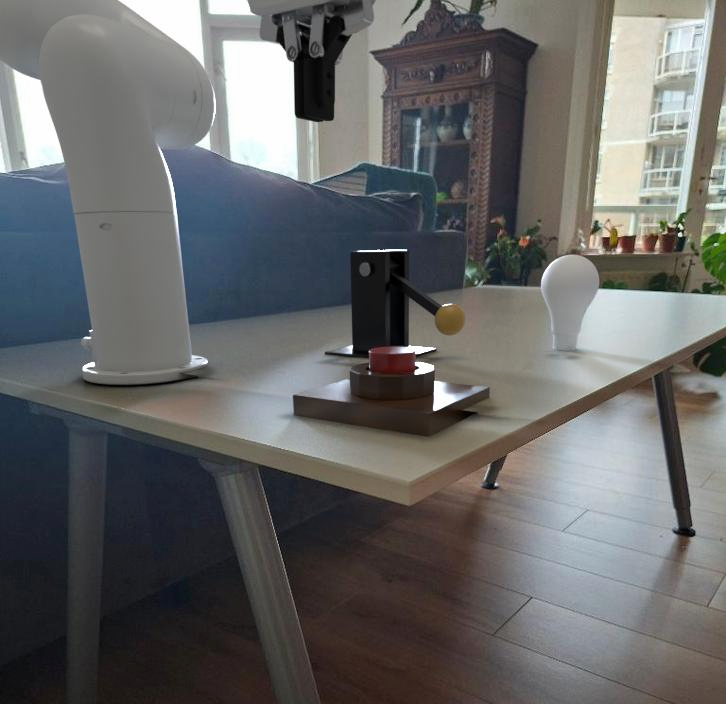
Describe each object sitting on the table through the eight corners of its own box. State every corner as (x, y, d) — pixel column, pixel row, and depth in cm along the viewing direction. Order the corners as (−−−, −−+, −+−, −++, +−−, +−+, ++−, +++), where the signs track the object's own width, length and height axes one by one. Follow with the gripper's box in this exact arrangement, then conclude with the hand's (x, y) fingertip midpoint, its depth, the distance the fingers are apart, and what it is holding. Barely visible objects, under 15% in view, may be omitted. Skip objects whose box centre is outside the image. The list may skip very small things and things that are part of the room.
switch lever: (461, 339, 71) (476, 313, 69) (447, 343, 69) (462, 316, 67) (372, 273, 75) (384, 247, 73) (356, 275, 72) (368, 248, 70)
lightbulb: (549, 350, 80) (557, 254, 76) (600, 355, 76) (610, 253, 72) (526, 357, 75) (533, 255, 72) (578, 363, 72) (588, 255, 68)
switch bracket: (436, 358, 76) (438, 249, 72) (400, 370, 70) (400, 251, 66) (364, 352, 81) (362, 250, 77) (324, 362, 75) (320, 251, 71)
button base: (293, 416, 52) (291, 371, 51) (365, 392, 60) (364, 353, 59) (428, 437, 46) (429, 387, 44) (489, 408, 53) (491, 364, 52)
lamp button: (360, 374, 51) (359, 351, 51) (385, 367, 54) (385, 345, 53) (400, 378, 49) (400, 355, 49) (424, 370, 52) (424, 348, 51)
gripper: (202, -160, 49) (217, 120, 56) (366, -232, 41) (361, 104, 48) (272, -118, 55) (278, 131, 62) (428, -175, 47) (416, 119, 54)
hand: (314, 118), depth 55 cm, fingers closed
